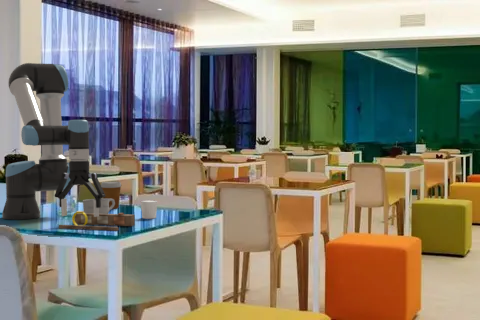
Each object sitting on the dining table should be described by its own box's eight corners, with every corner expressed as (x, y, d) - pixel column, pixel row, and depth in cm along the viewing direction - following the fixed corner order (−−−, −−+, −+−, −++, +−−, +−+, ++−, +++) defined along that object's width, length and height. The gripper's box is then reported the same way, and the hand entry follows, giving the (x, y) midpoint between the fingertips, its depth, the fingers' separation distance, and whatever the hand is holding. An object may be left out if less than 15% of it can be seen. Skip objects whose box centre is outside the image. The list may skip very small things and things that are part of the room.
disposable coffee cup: (119, 209, 323) (119, 183, 323) (99, 209, 324) (98, 183, 323) (123, 206, 333) (123, 181, 332) (103, 207, 333) (103, 181, 332)
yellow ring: (88, 226, 272) (89, 211, 272) (84, 227, 269) (85, 212, 269) (74, 225, 274) (75, 209, 273) (70, 226, 271) (71, 210, 271)
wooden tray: (58, 228, 266) (58, 216, 266) (78, 222, 281) (78, 211, 280) (117, 230, 260) (117, 218, 259) (134, 225, 274) (134, 213, 274)
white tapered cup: (154, 219, 291) (154, 202, 291) (138, 218, 292) (138, 201, 292) (159, 216, 298) (159, 200, 297) (144, 216, 299) (143, 199, 299)
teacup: (86, 220, 288) (86, 200, 287) (79, 217, 297) (79, 198, 297) (120, 218, 294) (119, 198, 294) (112, 215, 304) (111, 196, 303)
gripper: (44, 160, 270) (45, 216, 271) (104, 160, 263) (105, 217, 264) (55, 160, 277) (56, 214, 278) (113, 159, 270) (114, 215, 271)
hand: (80, 216), depth 271 cm, fingers open, 13 cm apart
